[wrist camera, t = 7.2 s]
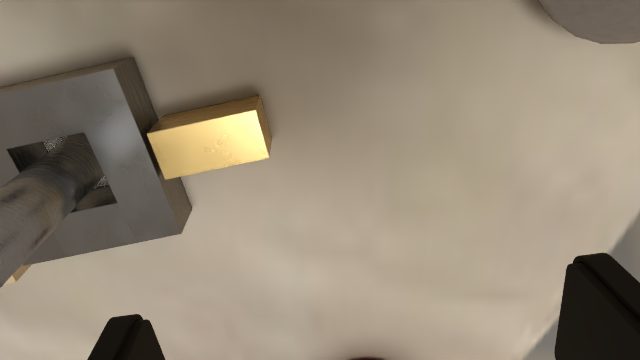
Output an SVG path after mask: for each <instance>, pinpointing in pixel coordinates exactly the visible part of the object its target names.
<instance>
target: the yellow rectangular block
mask: <svg viewBox="0 0 640 360" xmlns="http://www.w3.org/2000/svg"><path fill="white" fill-rule="evenodd" d="M147 136H148V138H149V141H150V143H151V146H152V148H153V151H154V153H155V156H156V158H157V161H158V163H159V165H160V168H161V170H162V173H163V175H164V178H165V180H166V179H171V178H176V177H180V176H185V175H190V174H195V173H199V172H204V171H209V170H214V169H218V168H223V167H228V166H233V165H237V164H242V163H247V162H252V161H256V160H261V159H266V158H269V155H270V149H271V142H272V137H271V133H270V130H269V126H268V122H267V119H266V115H265V111H264V108H263V104H262V101H261V97H260V95H259V96H254V97H249V98H245V99H240V100H236V101H231V102H227V103H222V104H217V105H213V106H208V107H204V108H199V109H194V110H190V111H185V112H181V113H176V114H172V115H167V116H162V117H161V118H160V120H159V121H158V122H157V123H156V124H155V125H154V126H153V127H152V128H151V129H150V131H149V132H148V133H147Z"/></svg>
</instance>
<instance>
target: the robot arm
mask: <svg viewBox="0 0 640 360" xmlns="http://www.w3.org/2000/svg"><path fill="white" fill-rule="evenodd" d="M555 358H556V360H640V283H639V282H638V281H637V280H636V279H635V278H634V277H633V276H632V275H631V274H630V273H628V272H627V271H626V270H625V269H624V268H623V267H622V266H621V265H620V264H619V263H618V262H617V261H615V260H614V259H613V258H612V257H611V256H610V255H608V254H607V253H597V254H590V255H582V256H577V257H576V258H575V259H574V261H573V264H569V265H568V266H567V269H566V275H565V282H564V289H563V296H562V303H561V310H560V317H559V324H558V331H557V338H556V345H555ZM88 360H165V358H164V355H163V353H162V350H161V348H160V345H159V343H158V340H157V337H156V335H155V332H154V330H153V327H152V325H151V323H150V321H149V320H143V318H142V317H141V316H140V315H139V314H134V315H126V316H119V317H113V318H111V319H110V320H109V321H108V322H107V324H106V326H105V328H104V330H103V332H102V333H101V335H100V337H99V339H98V341H97V343H96V345H95V346H94V348H93V350H92V352H91V354H90V356H89V358H88Z"/></svg>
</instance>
